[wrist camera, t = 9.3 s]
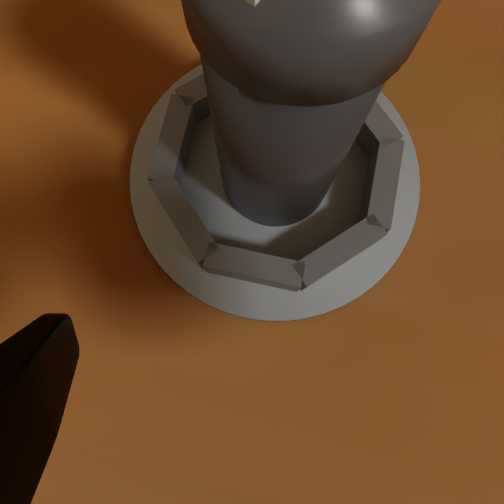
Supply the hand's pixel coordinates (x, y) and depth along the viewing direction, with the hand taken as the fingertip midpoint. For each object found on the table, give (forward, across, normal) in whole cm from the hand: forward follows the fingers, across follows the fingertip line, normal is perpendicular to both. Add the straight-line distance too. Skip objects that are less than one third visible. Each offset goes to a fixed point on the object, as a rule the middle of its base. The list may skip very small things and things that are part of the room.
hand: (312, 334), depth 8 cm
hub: (+12, 0, +2) cm, 13 cm away
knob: (+12, 0, +2) cm, 12 cm away
